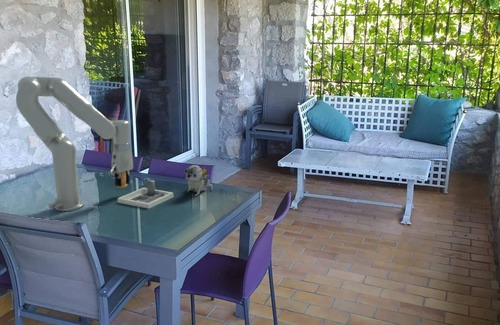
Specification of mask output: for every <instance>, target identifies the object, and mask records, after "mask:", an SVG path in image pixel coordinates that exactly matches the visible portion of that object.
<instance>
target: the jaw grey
mask: <svg viewBox="0 0 500 325" xmlns="http://www.w3.org/2000/svg"><path fill="white" fill-rule="evenodd" d="M155 185H156V182H155V180H154V179H149V180H146V188H147V196H151V197H153V196H155V195H156V194H155V190H156V186H155Z"/></svg>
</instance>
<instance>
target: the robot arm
mask: <svg viewBox="0 0 500 325" xmlns="http://www.w3.org/2000/svg"><path fill="white" fill-rule="evenodd" d="M39 97H53V98H54V99H56V100H57V101H58V102H59V103H60V104H61V105H62V106H63V107H65V108H66V110H68V111H69V112H70V113H71V114H73V115H74V116H75V117H76V118H78V119H79V120H81V121H82V122H84V123H85V124H86V125H87V126H89V128H90V129H92V130H93V131H94V132H95V133H96V134H97V136H100V137H101V138H102V139H104V140H110V139H111V140H112V139H113V140H112V142H113V144H112V154H111V170H110V171H109V173H110V174H111V175H112V176H113V178H114V180H115V186H116V187H117V186H121V178H120V176H121V172H125V171H126V183H127V185H129V184H130V176H131V172H132V170H133V169H134V160H133V158H134V157H133V152H132V148H131V133H130V132H131V131H130V125H131V124H130V122H129V121H128V120H123V119H117V120H110V119H108V118H107V117H106V116H104V115H103V114H102V113H101V112H100V111H99V110H97V108H96V107H95V106H94V105H93V104H92V103H91V102H90V101H89V100H87V99H86V98H85V97H84V96H83V95H82V94H81V93H80V92H79V91H77V90H76V88H74V87H73V86H72V85H71V84H70V83H69V82H68V81H66V80H65V79H63V78H61V77H45V76H24V77H22V78H20V79H19V81H18V83H17V91H16V97H15V103H16V107H17V109H18V111H19V114H21V116H22V117H23V118H24V120H25V121H26V122H27V123H28V125H29V126H30V127H31V129H32V130H33V132H34V133H35V134H36V136H37V137H38V138H39V139H40V140H41V141H42V143H43V144H44V145H45V147H46V148H47V149H48V150H49V151H50V152H51V154H52V164H53V165H52V166H53V174H54V183H55V193H56V198H55V199H54V202H51V203H49V204H48V208H49V209H53V208H54V210H56V211H59V212H60V211H61V212H70V211H74V210H79V209H80V208H83V207H84V205H85V202H84V201H83V200H81V199H80V188H79V179H78V178H79V177H78V170H77V152H76V146H75V145H74V143H73V141H72V140H71V139H69V137H68V136H67V135H66V134H65V133H64V132H63V130H62V129H61V128H60V127H59V126H58V123H57V122H56V121H55V120H54V119H53V118H52V117H51V116H50V115H49V114H48V113H47V111H46V109H45V108H44V107H43V106H42V104H41V103H40V101H39Z"/></svg>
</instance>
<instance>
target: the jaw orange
mask: <svg viewBox="0 0 500 325" xmlns="http://www.w3.org/2000/svg"><path fill="white" fill-rule="evenodd" d="M120 178H121V186H116V187H117V188H119V189H124V188H127V187H128V184H127V183H126V171H125V172H121V176H120Z"/></svg>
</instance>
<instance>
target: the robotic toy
mask: <svg viewBox="0 0 500 325" xmlns="http://www.w3.org/2000/svg"><path fill="white" fill-rule="evenodd" d="M207 168H208V167H207ZM207 168H206V166H204V167H202V168H201V167H200V166H199V165H197V164H196V165H191V166H189V167H188V168H187V167H186V168H185V170H184V173H185V175H186V176H185V180H187V184H188V190H187V191H186V192H187V193H189V192H194V193H196V194H194V196H195V197H197V196H199V195H200V193H201V192H203V191H204V190H205V189H206V188H208V187H209V188H210V191H213V190H214V186H213V184H212V183H211V182H210V174H208V172H209V170H208V169H207Z"/></svg>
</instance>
